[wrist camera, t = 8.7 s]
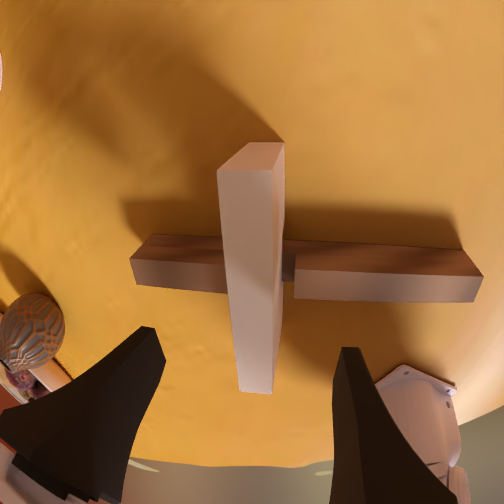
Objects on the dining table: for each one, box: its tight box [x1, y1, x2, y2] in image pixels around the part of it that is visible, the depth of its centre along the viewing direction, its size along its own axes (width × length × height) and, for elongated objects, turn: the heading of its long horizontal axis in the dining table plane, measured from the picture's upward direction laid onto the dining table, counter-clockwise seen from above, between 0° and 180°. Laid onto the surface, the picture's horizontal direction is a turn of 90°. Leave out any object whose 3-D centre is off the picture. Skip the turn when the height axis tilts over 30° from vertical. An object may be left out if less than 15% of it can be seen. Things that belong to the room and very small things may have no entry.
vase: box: [0, 293, 65, 374], centre depth 22 cm, size 7×7×9 cm
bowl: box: [0, 313, 72, 404], centre depth 33 cm, size 30×30×8 cm
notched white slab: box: [216, 142, 285, 395], centre depth 15 cm, size 12×2×6 cm, turn 3°
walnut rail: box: [129, 235, 484, 303], centre depth 16 cm, size 20×2×3 cm, turn 93°
